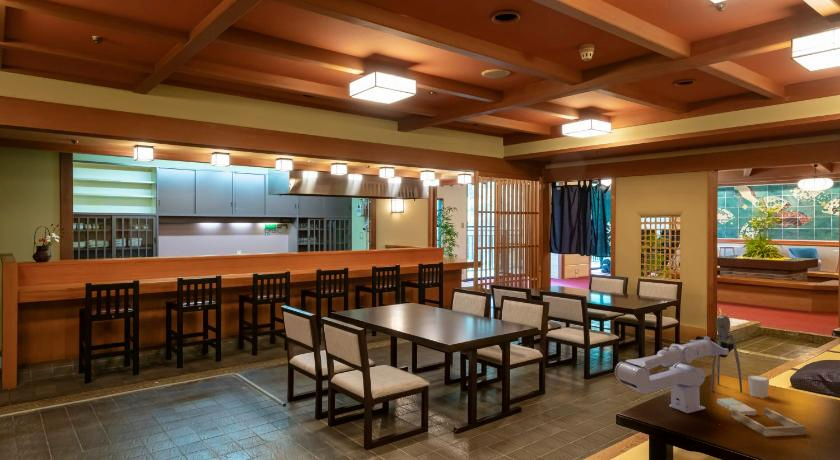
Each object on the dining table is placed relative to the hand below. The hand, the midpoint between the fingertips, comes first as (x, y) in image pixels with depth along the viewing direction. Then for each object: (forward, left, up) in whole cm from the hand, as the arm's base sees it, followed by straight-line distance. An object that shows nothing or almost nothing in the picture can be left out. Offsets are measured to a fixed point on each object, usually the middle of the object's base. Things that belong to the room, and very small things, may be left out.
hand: (722, 343), depth 195 cm
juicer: (+11, +8, -21) cm, 25 cm away
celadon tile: (-4, -6, -22) cm, 23 cm away
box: (-10, -22, -21) cm, 32 cm away
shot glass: (+15, -4, -21) cm, 26 cm away
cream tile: (-7, -12, -22) cm, 26 cm away
